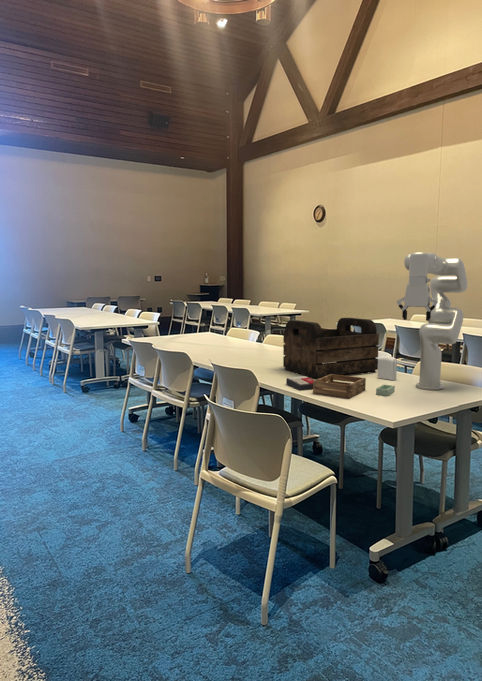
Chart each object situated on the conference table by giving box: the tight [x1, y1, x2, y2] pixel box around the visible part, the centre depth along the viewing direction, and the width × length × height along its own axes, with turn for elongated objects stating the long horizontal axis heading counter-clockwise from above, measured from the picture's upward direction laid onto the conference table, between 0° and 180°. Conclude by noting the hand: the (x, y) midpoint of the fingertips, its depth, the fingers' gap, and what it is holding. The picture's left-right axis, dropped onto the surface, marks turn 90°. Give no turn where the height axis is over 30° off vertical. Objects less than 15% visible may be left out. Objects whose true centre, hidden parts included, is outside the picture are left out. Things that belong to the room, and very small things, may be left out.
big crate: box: [312, 374, 367, 400], centre depth 226 cm, size 20×18×6 cm
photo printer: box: [377, 355, 398, 381], centre depth 255 cm, size 10×4×12 cm, turn 39°
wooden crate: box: [282, 317, 380, 380], centre depth 277 cm, size 42×34×30 cm
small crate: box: [375, 384, 396, 397], centre depth 223 cm, size 10×5×3 cm, turn 145°
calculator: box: [285, 375, 315, 392], centre depth 238 cm, size 11×4×15 cm
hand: (416, 320), depth 211 cm, fingers open, 9 cm apart
